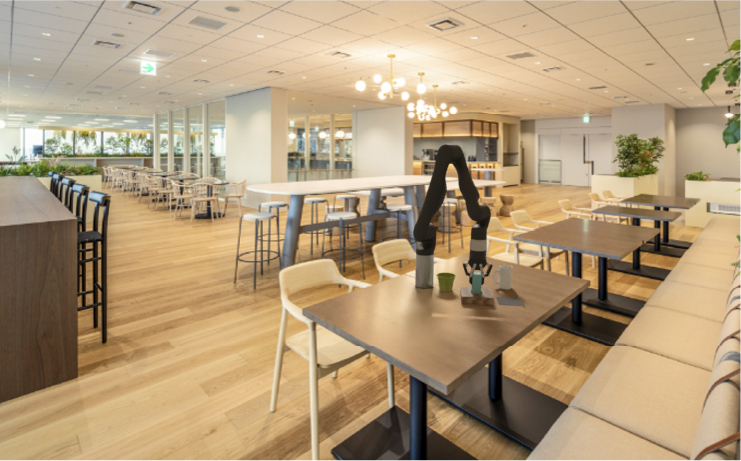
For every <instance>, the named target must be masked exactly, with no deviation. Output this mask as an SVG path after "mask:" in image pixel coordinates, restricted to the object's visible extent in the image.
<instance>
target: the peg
mask: <svg viewBox="0 0 741 461" xmlns="http://www.w3.org/2000/svg"><path fill="white" fill-rule="evenodd" d="M472 277H473V278H472V285H471V287H472V290H471V293H472V294H481V288H482V285H481V282H482V274H481V271H480V272H479V271H477V272H475V271H474V273H473V276H472Z"/></svg>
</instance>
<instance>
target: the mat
mask: <svg viewBox="0 0 741 461" xmlns="http://www.w3.org/2000/svg"><path fill="white" fill-rule="evenodd" d="M495 298H496V301H497V304H498V305H499V306H514V307H523V308H524V309H525V304H524V302H523V300H522V298H521V297H512V296H510V297H509V296H495Z"/></svg>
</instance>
